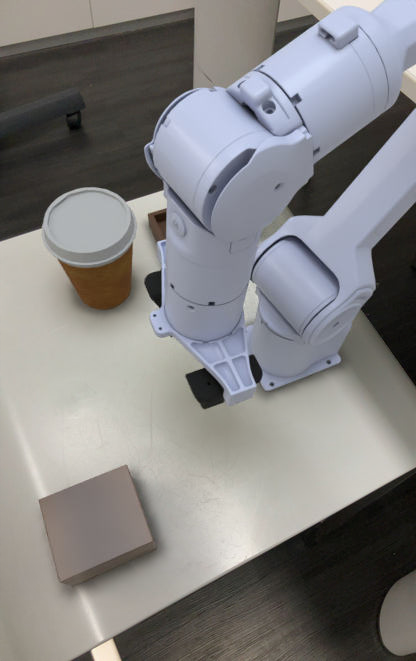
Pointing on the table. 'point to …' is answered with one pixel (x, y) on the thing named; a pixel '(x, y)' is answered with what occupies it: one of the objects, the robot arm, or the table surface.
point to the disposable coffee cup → (93, 243)
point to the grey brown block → (96, 526)
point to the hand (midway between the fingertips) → (195, 365)
